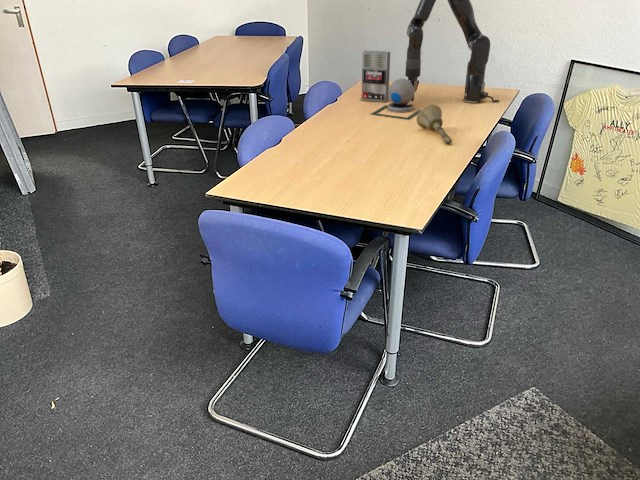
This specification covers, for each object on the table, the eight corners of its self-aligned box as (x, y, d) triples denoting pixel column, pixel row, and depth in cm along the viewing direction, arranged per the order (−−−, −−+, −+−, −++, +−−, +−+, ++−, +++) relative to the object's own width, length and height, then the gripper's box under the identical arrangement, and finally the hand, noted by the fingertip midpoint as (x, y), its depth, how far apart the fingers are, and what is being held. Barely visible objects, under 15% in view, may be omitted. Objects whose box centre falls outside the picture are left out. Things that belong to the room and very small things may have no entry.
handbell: (428, 131, 246) (450, 159, 227) (410, 119, 240) (431, 146, 221) (445, 111, 241) (469, 137, 223) (428, 98, 235) (451, 123, 216)
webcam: (417, 107, 274) (419, 77, 266) (406, 113, 265) (407, 83, 257) (394, 104, 280) (395, 75, 273) (383, 110, 271) (384, 80, 264)
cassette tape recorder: (360, 100, 288) (361, 52, 276) (364, 97, 293) (365, 50, 281) (385, 102, 283) (387, 53, 271) (388, 99, 288) (390, 51, 276)
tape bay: (422, 110, 269) (422, 110, 269) (408, 119, 256) (408, 118, 256) (385, 105, 278) (385, 105, 278) (371, 114, 265) (371, 113, 265)
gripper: (415, 70, 264) (413, 104, 273) (425, 64, 274) (423, 98, 283) (401, 68, 268) (399, 103, 277) (411, 63, 278) (409, 96, 286)
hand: (411, 100), depth 280 cm, fingers closed
